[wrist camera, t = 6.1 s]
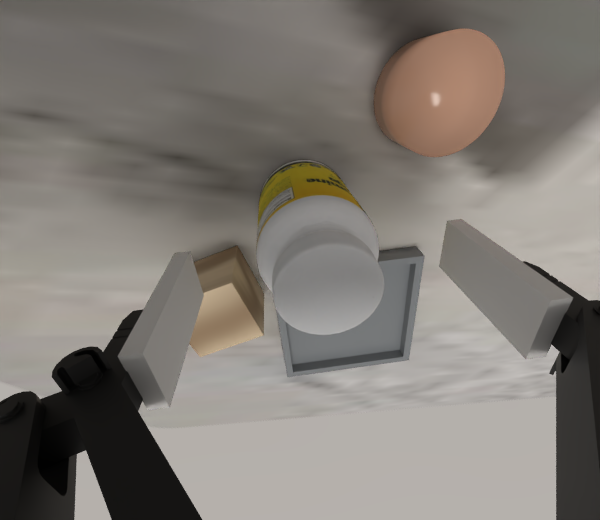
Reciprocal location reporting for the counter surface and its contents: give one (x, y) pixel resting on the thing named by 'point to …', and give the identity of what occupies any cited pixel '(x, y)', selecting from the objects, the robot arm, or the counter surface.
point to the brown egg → (440, 91)
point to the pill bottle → (317, 250)
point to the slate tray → (364, 325)
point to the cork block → (227, 303)
